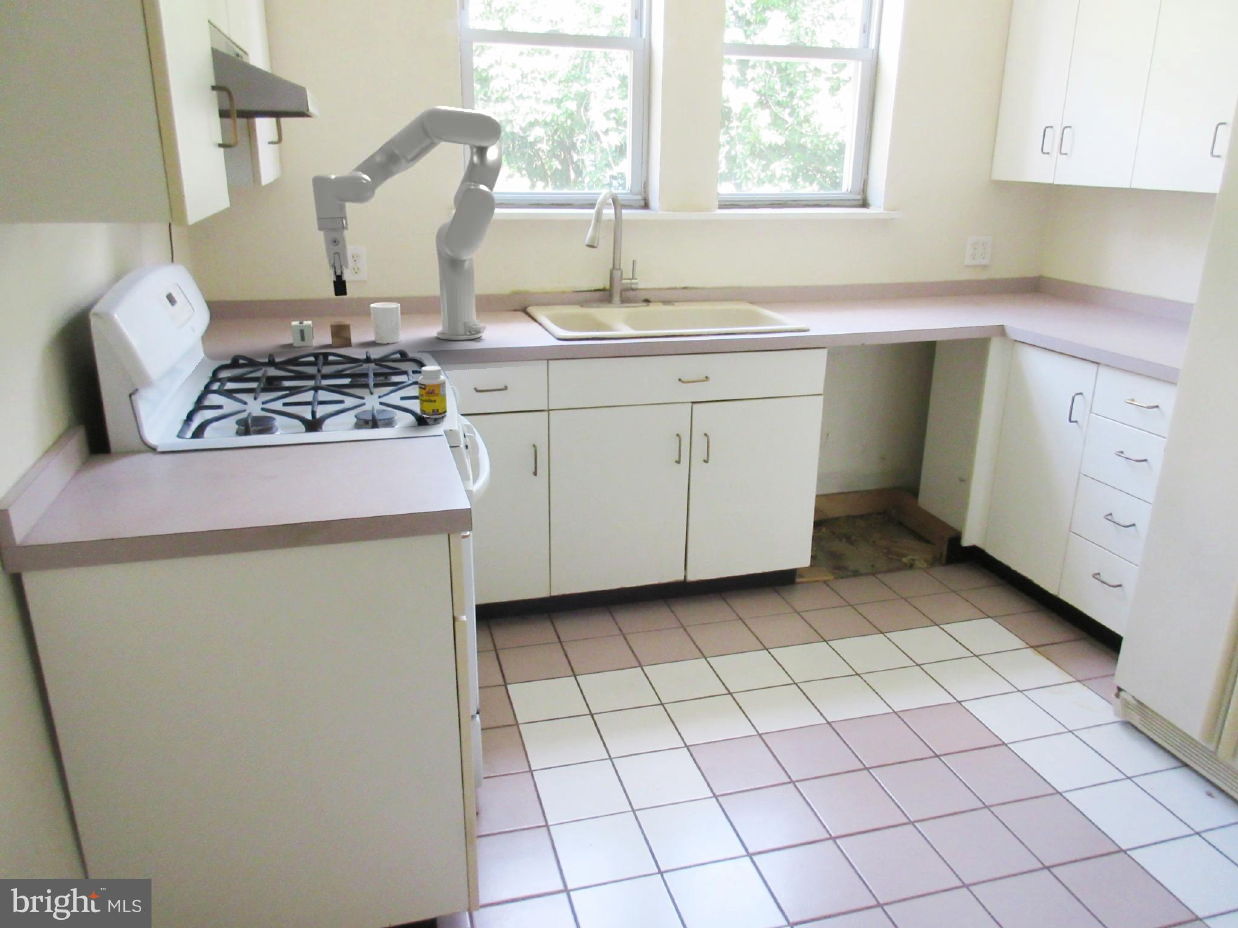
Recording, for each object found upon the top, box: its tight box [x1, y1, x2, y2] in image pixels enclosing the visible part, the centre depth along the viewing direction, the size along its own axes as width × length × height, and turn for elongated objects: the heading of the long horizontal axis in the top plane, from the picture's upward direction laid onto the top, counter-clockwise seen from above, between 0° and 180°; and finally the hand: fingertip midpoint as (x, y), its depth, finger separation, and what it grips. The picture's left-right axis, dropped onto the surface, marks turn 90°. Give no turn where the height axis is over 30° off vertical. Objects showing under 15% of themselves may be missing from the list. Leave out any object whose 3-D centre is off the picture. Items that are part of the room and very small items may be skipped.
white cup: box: [369, 302, 401, 345], centre depth 245 cm, size 8×8×10 cm
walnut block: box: [329, 320, 353, 348], centre depth 241 cm, size 5×5×6 cm
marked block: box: [290, 320, 314, 348], centre depth 241 cm, size 5×5×6 cm
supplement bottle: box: [417, 365, 448, 419], centre depth 179 cm, size 5×5×10 cm
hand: (341, 295), depth 240 cm, fingers closed
